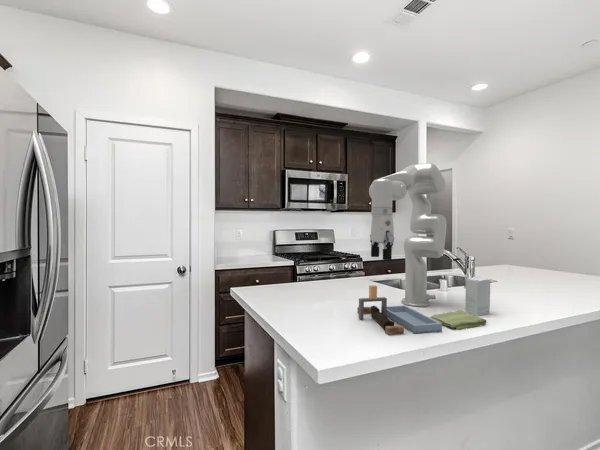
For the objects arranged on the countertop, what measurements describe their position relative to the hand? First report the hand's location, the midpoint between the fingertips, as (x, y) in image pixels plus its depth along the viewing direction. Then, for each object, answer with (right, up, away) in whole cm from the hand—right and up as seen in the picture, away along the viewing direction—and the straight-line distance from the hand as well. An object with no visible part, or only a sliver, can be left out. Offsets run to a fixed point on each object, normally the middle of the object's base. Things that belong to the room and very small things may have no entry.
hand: (380, 258), depth 119 cm
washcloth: (+30, -26, +3) cm, 40 cm away
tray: (+12, -25, +3) cm, 27 cm away
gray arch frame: (-2, -24, +7) cm, 25 cm away
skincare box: (+45, -25, +15) cm, 53 cm away
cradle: (0, -25, +2) cm, 25 cm away
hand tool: (0, -25, +2) cm, 25 cm away
